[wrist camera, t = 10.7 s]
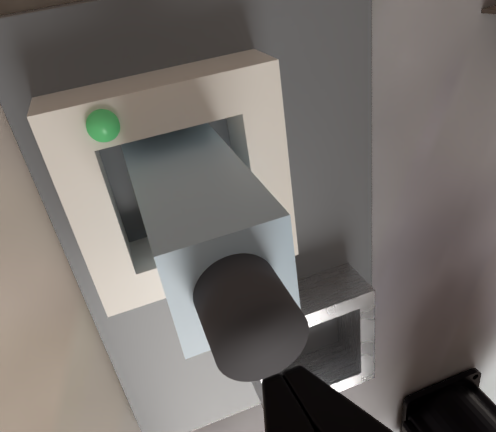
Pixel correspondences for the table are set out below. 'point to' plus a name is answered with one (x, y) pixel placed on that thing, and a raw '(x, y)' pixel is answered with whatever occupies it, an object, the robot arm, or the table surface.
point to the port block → (148, 125)
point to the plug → (219, 252)
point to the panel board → (297, 131)
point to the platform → (489, 10)
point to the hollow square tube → (348, 323)
